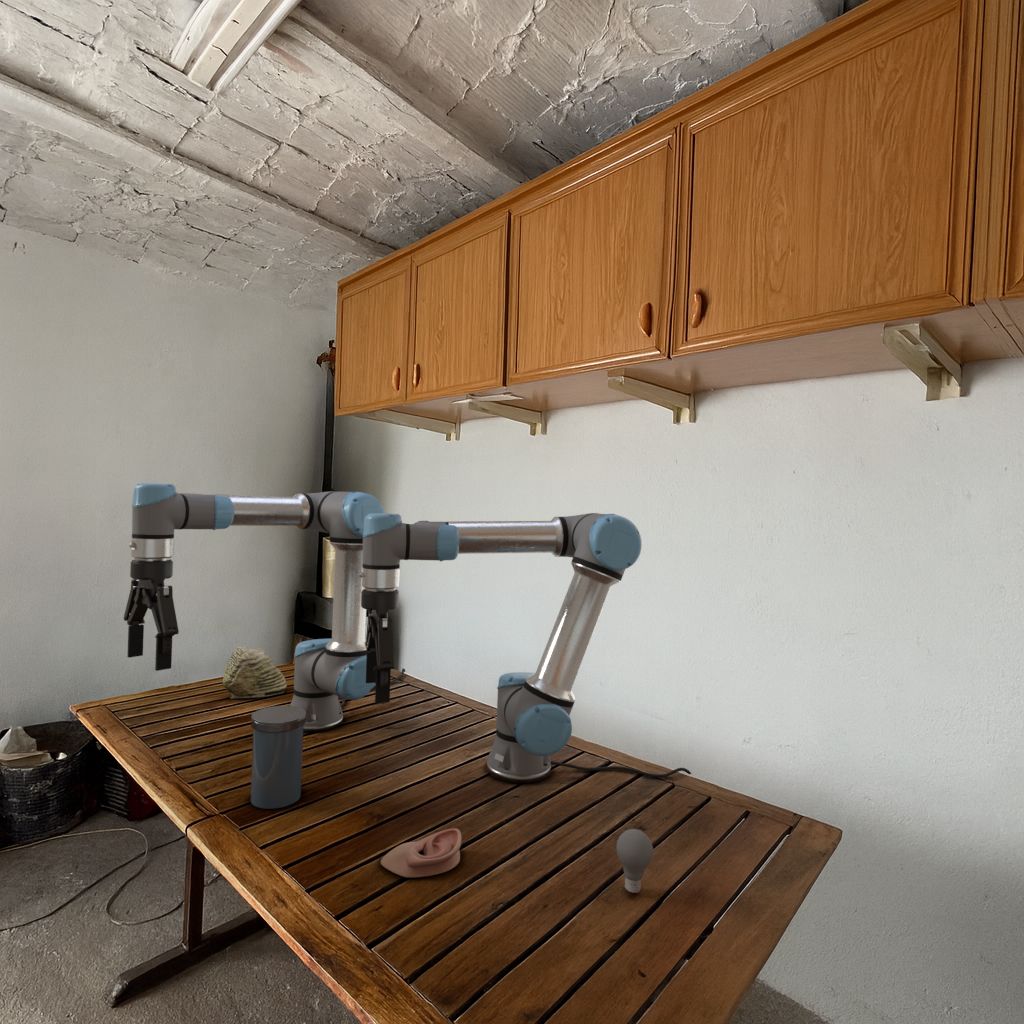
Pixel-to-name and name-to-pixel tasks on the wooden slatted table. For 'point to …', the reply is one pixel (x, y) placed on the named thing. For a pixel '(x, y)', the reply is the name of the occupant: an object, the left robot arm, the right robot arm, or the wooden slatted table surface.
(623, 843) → the light bulb
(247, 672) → the fossil
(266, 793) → the jar
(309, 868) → the wooden slatted table surface
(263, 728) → the lid
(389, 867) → the anatomical model
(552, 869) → the wooden slatted table surface
